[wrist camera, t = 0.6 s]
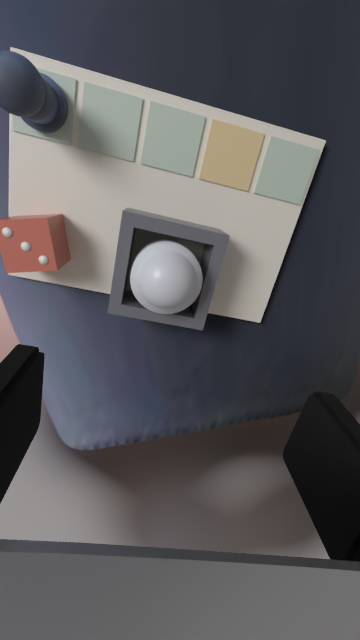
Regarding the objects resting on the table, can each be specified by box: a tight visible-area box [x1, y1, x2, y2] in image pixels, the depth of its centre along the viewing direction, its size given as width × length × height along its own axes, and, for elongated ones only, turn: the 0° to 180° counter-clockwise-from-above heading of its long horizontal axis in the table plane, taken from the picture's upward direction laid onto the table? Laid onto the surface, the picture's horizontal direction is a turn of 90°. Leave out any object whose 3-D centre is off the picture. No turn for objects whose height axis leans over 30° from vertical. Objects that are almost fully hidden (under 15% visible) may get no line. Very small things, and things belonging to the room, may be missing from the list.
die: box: [0, 214, 71, 273], centre depth 25 cm, size 4×4×4 cm
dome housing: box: [108, 208, 230, 330], centre depth 27 cm, size 8×8×4 cm
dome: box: [130, 239, 203, 314], centre depth 24 cm, size 6×6×5 cm
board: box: [8, 47, 326, 323], centre depth 27 cm, size 17×25×1 cm
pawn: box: [0, 51, 68, 133], centre depth 20 cm, size 4×4×6 cm
